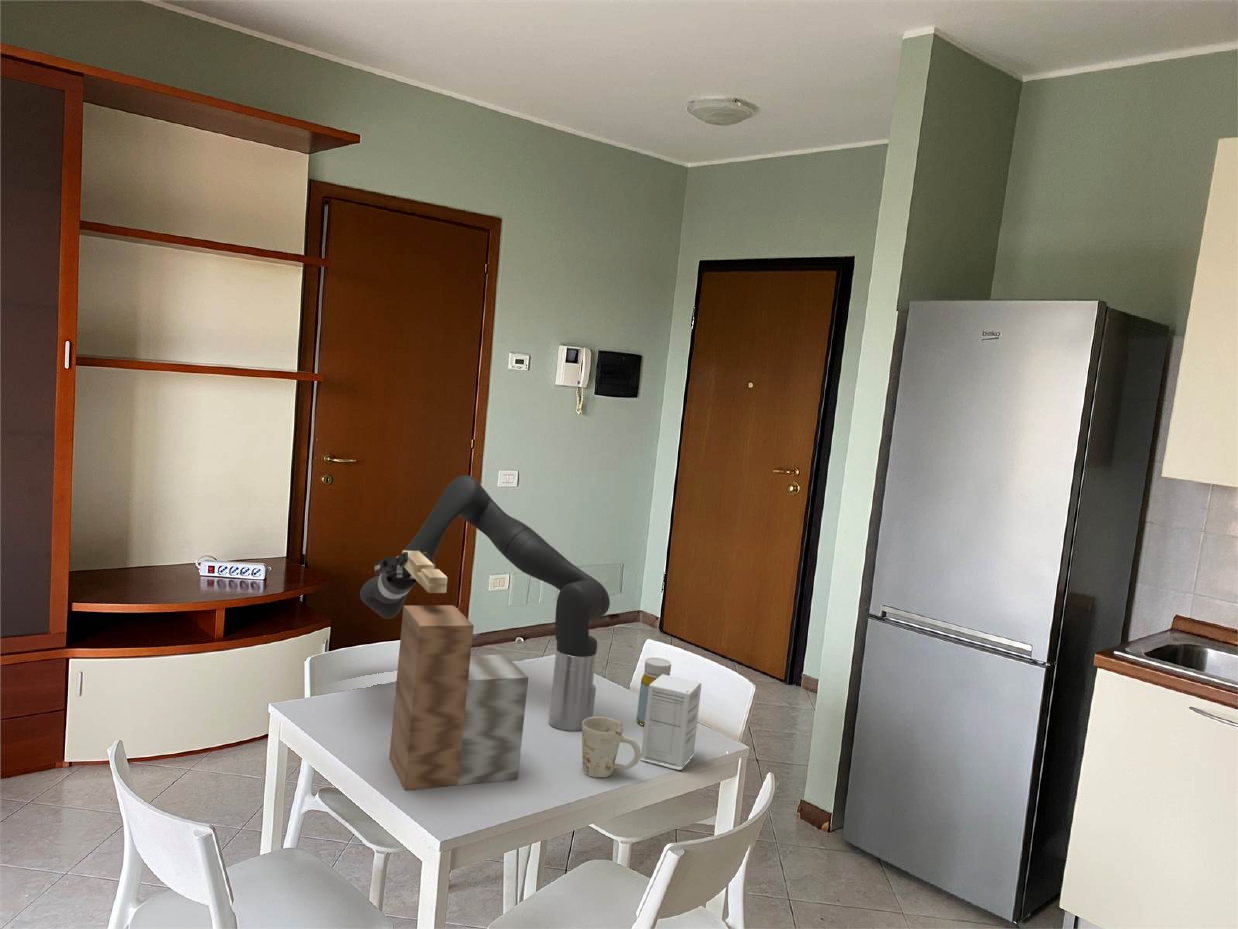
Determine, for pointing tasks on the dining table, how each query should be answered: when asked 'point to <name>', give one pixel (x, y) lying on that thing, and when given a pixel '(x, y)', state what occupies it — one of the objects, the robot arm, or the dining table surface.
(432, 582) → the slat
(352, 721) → the dining table surface
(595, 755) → the mug
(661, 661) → the bottle
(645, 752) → the supplement box
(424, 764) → the step shelf
